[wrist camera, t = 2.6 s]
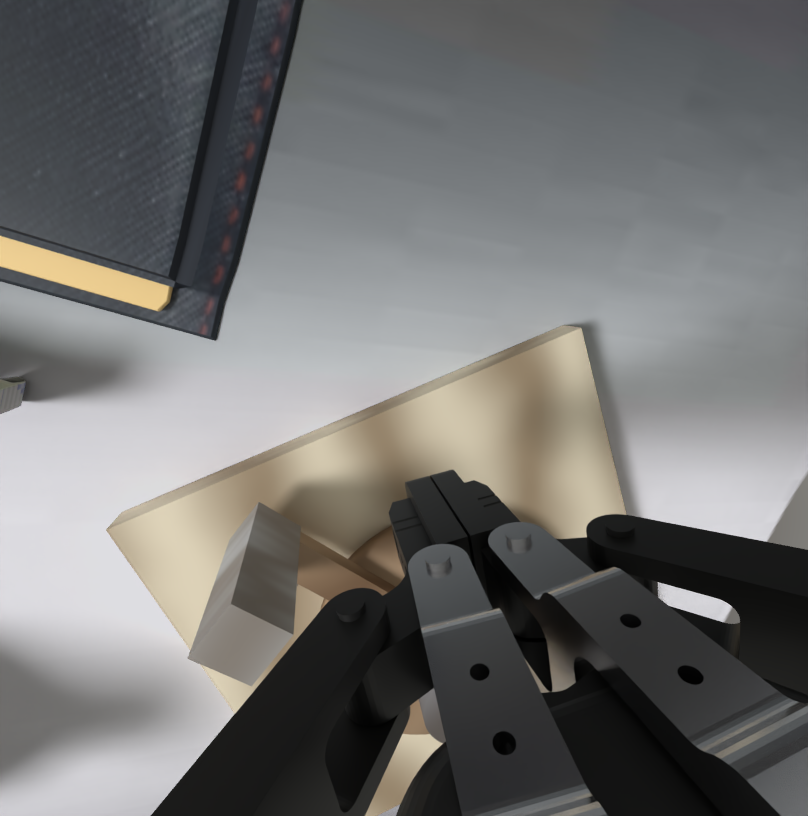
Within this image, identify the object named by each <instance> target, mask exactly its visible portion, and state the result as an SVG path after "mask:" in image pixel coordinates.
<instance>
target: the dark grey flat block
mask: <svg viewBox="0 0 808 816" xmlns="http://www.w3.org/2000/svg"><path fill="white" fill-rule="evenodd" d="M301 2H302V0H0V281H2V282H5V283H9V284H12V285H16V286H20V287H23V288H27V289H31V290H34V291H38V292H42V293H45V294H49V295H52V296H56V297H60V298H63V299H67V300H71V301H74V302H78V303H81V304H85V305H89V306H92V307H96V308H100V309H103V310H107V311H110V312H114V313H118V314H121V315H125V316H128V317H132V318H136V319H139V320H143V321H147V322H150V323H154V324H157V325H161V326H165V327H168V328H172V329H175V330H179V331H183V332H186V333H190V334H193V335H197V336H201V337H204V338H208V339H212V340H216V336H217V332H218V327H219V323H220V318H221V314H222V309H223V305H224V302H225V299H226V296H227V293H228V290H229V287H230V284H231V281H232V278H233V275H234V272H235V269H236V266H237V264H238V260H239V256H240V252H241V248H242V244H243V240H244V236H245V232H246V228H247V224H248V220H249V216H250V212H251V208H252V204H253V200H254V196H255V192H256V188H257V184H258V181H259V177H260V173H261V169H262V165H263V161H264V157H265V153H266V149H267V145H268V141H269V136H270V132H271V128H272V124H273V120H274V116H275V112H276V108H277V104H278V100H279V96H280V92H281V88H282V84H283V80H284V76H285V72H286V68H287V64H288V60H289V56H290V52H291V48H292V44H293V40H294V36H295V31H296V26H297V21H298V16H299V11H300V7H301Z"/></svg>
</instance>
